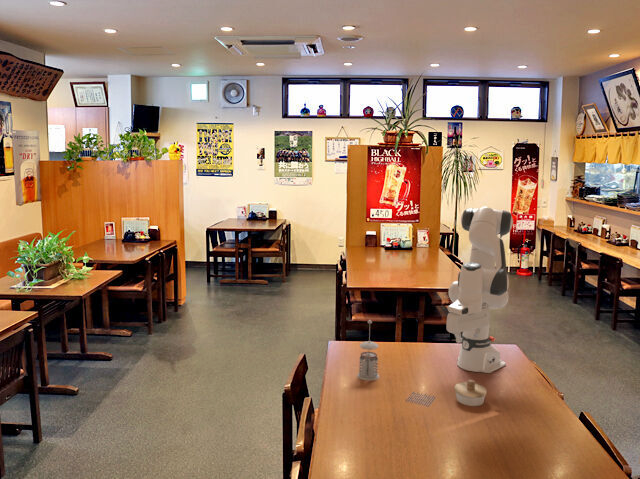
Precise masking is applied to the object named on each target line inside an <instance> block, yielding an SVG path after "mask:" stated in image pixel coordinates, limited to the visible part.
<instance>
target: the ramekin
mask: <svg viewBox="0 0 640 479" xmlns="http://www.w3.org/2000/svg"><path fill="white" fill-rule="evenodd" d="M454 392H455V396H456V400H457V402H458V403H460V404H462V405H465V406H469V407H477V406H479V407H480V406H481V405H483V404H484V402H485V397H486V396H487V394H486V395H485V396H483V397H478V398H472V397H466V396H463V395H460V394H458V393H457V392H456V391H455V390H454Z"/></svg>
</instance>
